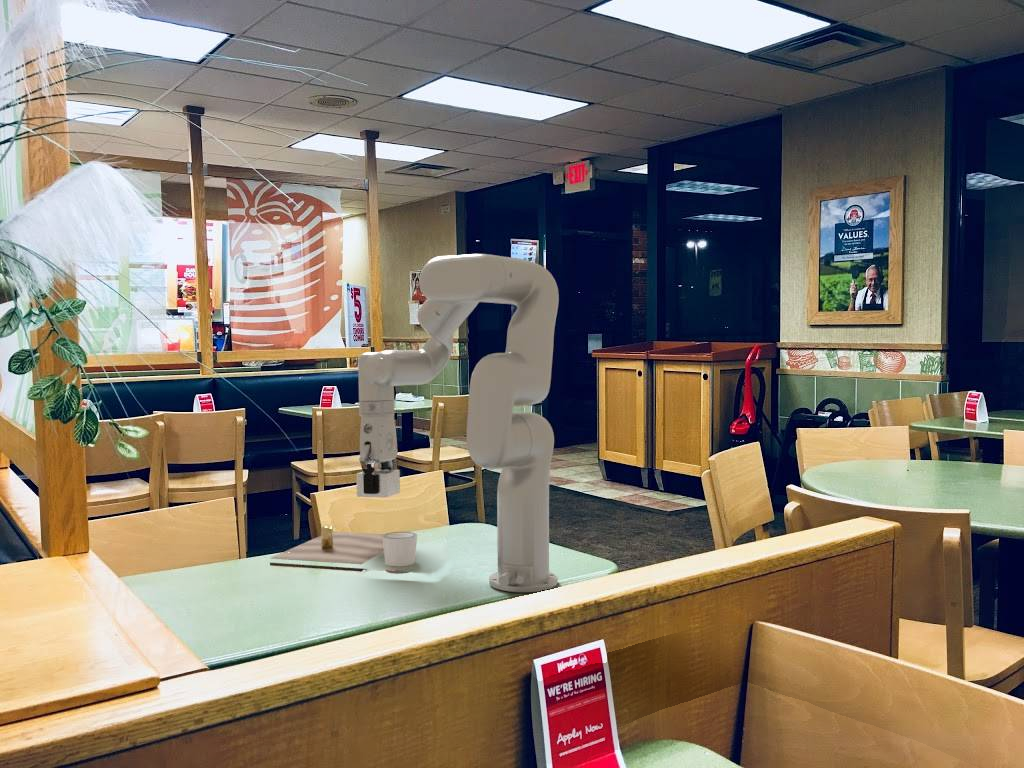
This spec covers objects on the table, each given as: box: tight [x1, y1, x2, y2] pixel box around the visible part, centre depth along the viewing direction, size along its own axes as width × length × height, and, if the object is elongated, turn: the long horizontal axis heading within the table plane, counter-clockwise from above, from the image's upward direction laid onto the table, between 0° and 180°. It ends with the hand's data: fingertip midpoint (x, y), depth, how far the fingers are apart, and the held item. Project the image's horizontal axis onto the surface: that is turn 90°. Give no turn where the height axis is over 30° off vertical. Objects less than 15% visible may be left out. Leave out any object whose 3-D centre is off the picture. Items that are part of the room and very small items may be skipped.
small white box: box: [355, 469, 401, 498], centre depth 172 cm, size 7×7×5 cm
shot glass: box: [382, 531, 418, 575], centre depth 156 cm, size 7×7×7 cm
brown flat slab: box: [269, 531, 385, 572], centre depth 170 cm, size 26×20×2 cm
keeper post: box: [320, 525, 334, 549], centre depth 169 cm, size 2×2×4 cm
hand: (378, 490), depth 172 cm, fingers closed on small white box, 7 cm apart
